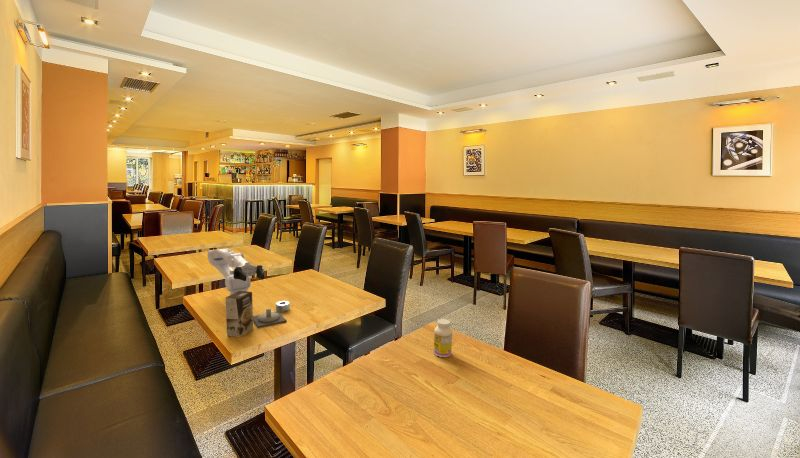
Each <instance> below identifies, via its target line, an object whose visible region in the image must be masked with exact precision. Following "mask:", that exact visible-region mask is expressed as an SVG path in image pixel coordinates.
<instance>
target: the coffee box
mask: <svg viewBox="0 0 800 458" xmlns="http://www.w3.org/2000/svg"><path fill="white" fill-rule="evenodd" d="M253 306H254V305H253V292H252V291H249V290H247V291H238V292H236V293H234V294H232V295H230V294H229V295H228V296H226V297H225V321H226V322H225V323H226V336H228V337H229V336H230V337H236V338H241V337H243V336H244V335H245V334H247V333H248V332H250V331H251V330H253V329H254V321H253V316H254V314H253V313H254V312H253V309H254V307H253Z"/></svg>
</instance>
